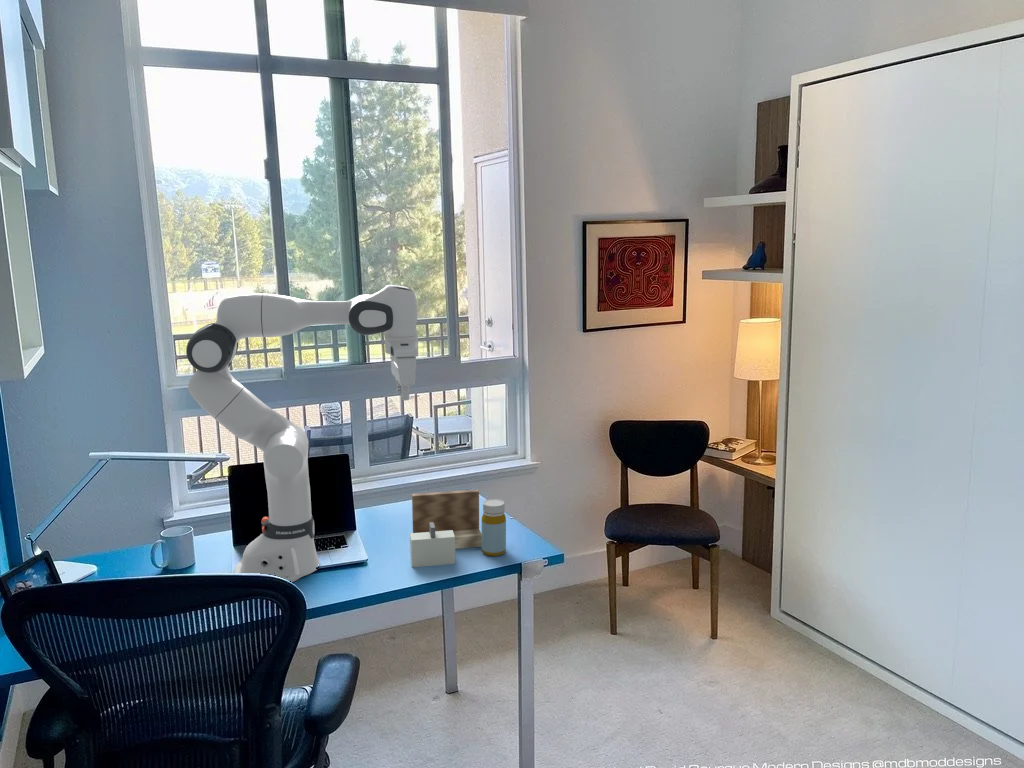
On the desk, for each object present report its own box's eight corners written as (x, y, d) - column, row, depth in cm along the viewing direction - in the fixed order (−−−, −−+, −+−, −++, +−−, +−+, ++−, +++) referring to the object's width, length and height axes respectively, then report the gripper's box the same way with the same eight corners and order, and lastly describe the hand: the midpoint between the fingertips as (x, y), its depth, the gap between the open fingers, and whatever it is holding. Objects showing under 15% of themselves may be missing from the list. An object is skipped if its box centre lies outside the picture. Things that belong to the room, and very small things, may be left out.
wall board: (416, 551, 219) (415, 506, 216) (412, 537, 229) (411, 493, 226) (484, 546, 223) (484, 501, 220) (478, 532, 233) (477, 489, 230)
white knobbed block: (412, 567, 209) (411, 530, 207) (410, 560, 214) (409, 523, 212) (455, 563, 211) (454, 526, 209) (452, 556, 216) (452, 520, 214)
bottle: (484, 558, 215) (484, 507, 212) (479, 548, 222) (479, 499, 219) (508, 555, 217) (508, 505, 214) (502, 545, 223) (502, 497, 220)
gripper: (385, 341, 212) (386, 389, 214) (394, 351, 192) (396, 405, 195) (407, 340, 213) (408, 388, 216) (419, 350, 194) (420, 403, 197)
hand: (403, 396), depth 205 cm, fingers open, 8 cm apart
